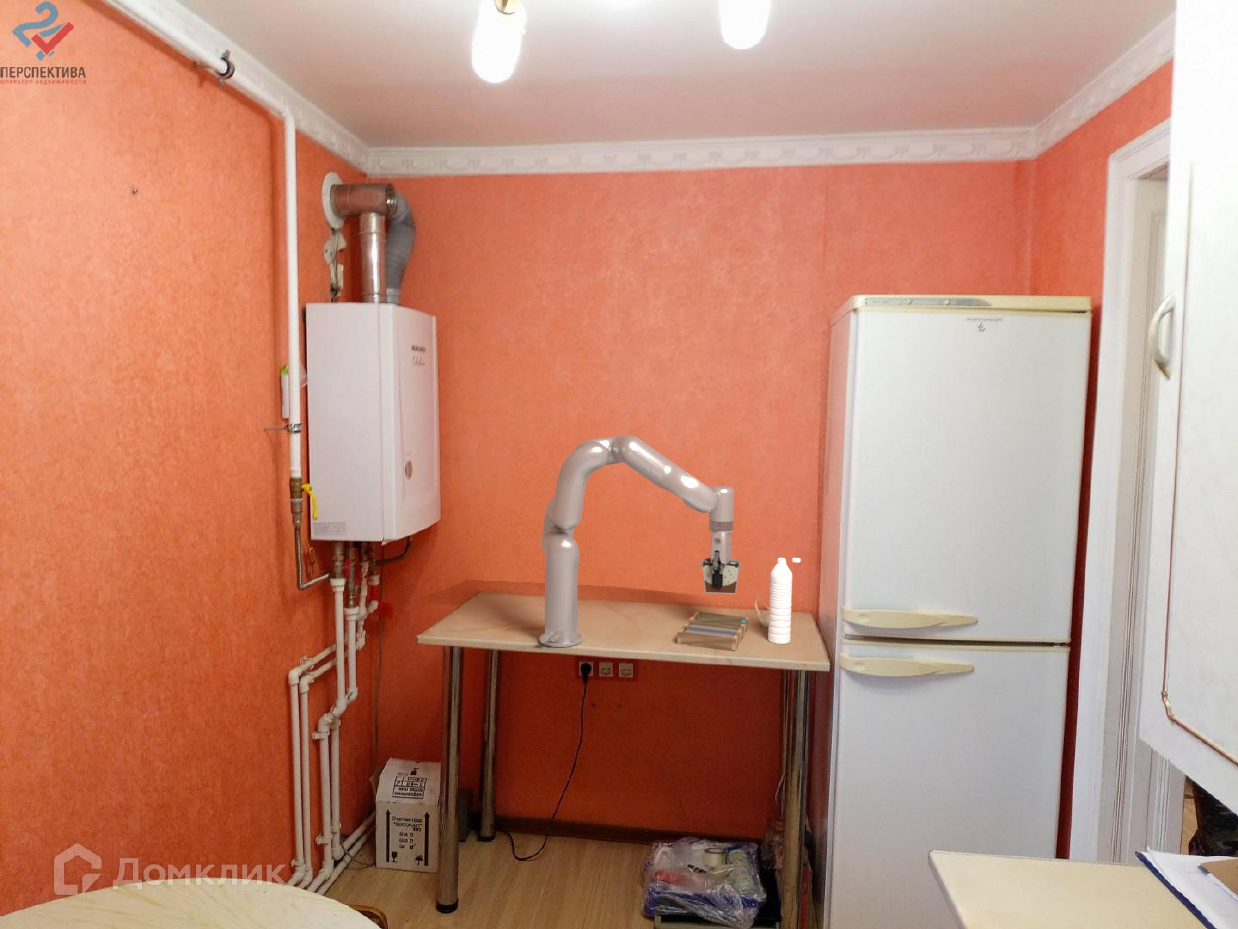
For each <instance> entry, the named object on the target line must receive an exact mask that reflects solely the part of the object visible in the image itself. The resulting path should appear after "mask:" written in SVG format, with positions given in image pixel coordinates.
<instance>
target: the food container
mask: <svg viewBox="0 0 1238 929" xmlns="http://www.w3.org/2000/svg"><path fill="white" fill-rule="evenodd" d="M718 564H721V562H718ZM718 567H719V568H720V566H718ZM700 568H702V576H703V585H704V593H705V594H724V595H725V594H727V595H737V587H738V580H739V572H740V571H739V570H740V569H742V565H741V563H740V560H738V559H737V558H736V559H735V558H732V559H731V561H730V562H729V563H728V564H726V565H724V564H723V568H722V574H723V586H722V587H714V586H712V572H713V564H712V563H711V557H708V558H703V559H702V561H701V563H700Z"/></svg>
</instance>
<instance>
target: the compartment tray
mask: <svg viewBox="0 0 1238 929" xmlns="http://www.w3.org/2000/svg"><path fill="white" fill-rule="evenodd" d="M749 629H750V617H748V616H747V617H746V616H738V615H729V614H721V613H713V612H702V611H695V612H694V613H693V615H692V616H691V617H690V618H689V619H688V620H687V621H686V622H685V623H684V624H683V625H682V627H681V628H679V630H678V631H677V640H676V641H677V644H678V645H683V644H688V645H687V646H691V645H695V646H694V647H698V646H701V647H700V648H706V647H707V649H715V650H722V651H729V650H736V651H737V649H738V648H739V646H740V644H741V643H742V641H743V639H744V638H745V636H746V634H747V633H748V631H749ZM746 632H747V633H746ZM741 640H742V641H741ZM740 642H741V643H740ZM738 645H739V646H738ZM737 647H738V648H737Z"/></svg>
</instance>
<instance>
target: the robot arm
mask: <svg viewBox="0 0 1238 929" xmlns="http://www.w3.org/2000/svg"><path fill="white" fill-rule="evenodd" d="M621 463H624V464H625V465H626V466H628V467H629V468H631V469H632V470H634V471H635V472H636V473H638V474H639V475H640V476H642V477H643V478H645V479H646V480H648V481H649V482H650V483H652V484H653V485H656V486H657V487H658V488H661V489H663V490H664V491H667V492H669V493H671V494H674V496H676V497H678V498H680V499H681V500H682V501H683V503H684V505H685V506H686V507H687V508H689V509H691V510H692V511H693V510H694V511H696V512H699V513H702V514H708V532H711V538H710V558H711V563H712V564H713V572H712V586H714V587H722V586H723V574H722V568H723V564H724V565H726V564H728V563H729V562H730V561H731V559H733V557H732V556H733V554H732V533H733V532H734V518H735V517H734V516H735V515H734V514H735V513H734V512H735V511H734V510H735V491H734V488H733V487H731V486H728V485H727V486H726V485H715V486H714V485H713V486H708V485H707V484H705V483H703V482H702V481H701V480H699V479H698V478H697V477H695V476H694V475H692V474H691V473H689V472H688V471H686V470H684V468H681V466H679V465H677V463H674V462H673V461H671V459H668V458H667V457H666V456H664V454H661V453H660V452H659V451H657V450H656V449H655V448H653V447H652V446H651V445H649V444H648V443H647V442H645V441H643V440H642V439H640V438H639V437H637V436H635V435H629V434H620V435H616V436H609V437H601V438H600V437H599V438H593V439H587V440H583V441H581V442H580V443H579V444H577V446H576V448H575V449H574V451H573V452H571V454H569V455H568V456H567V457H566V459H565V460H564V461H563V463H562V464H561V467H560V469H559V472H558V475H557V480H556V487H555V492H554V493H555V494H554V496H553V497H552V498H550V499H549V501H548V502H547V504H546V507H545V513H544V519H543V520H544V521H543V526H542V527H543V528H542V535H541V542H540V543H541V549H542V552H543V554H544V556H545V572H544V575H545V576H544V632H543V633H541V635H540V636H539V640H538V641H539V642H540V643H541V644H542V645H545V646H547V647H555V648H565V647H574V646H577V645H579V644H580V643H582V642H583V634H581V633H579V632H578V602H579V601H578V599H579V598H578V596H579V594H578V589H579V586H578V583H579V565H580V558H581V557H580V555H581V554H580V548H579V544H578V543H577V540H575V538H574V532H575V528H577V527H578V526H579V525H580V523H581V521H582V517H583V508H584V501H585V494H586V488H587V485H588V484H587V483H588V480H589V479H590V477H591V476H592V474H594V473H595V472H596V471H599V470H601V469H603V468H604V467H605V466H610V465H615V464H621ZM718 562H721V564H718ZM718 566H720V568H719V567H718Z"/></svg>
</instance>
